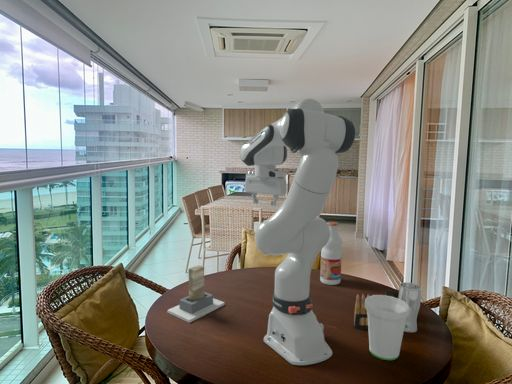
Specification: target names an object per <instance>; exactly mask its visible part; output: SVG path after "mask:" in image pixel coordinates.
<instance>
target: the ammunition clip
mask: <svg viewBox="0 0 512 384" xmlns="http://www.w3.org/2000/svg"><path fill="white" fill-rule="evenodd" d="M373 295H375V294H373ZM373 295H372V296H373ZM369 296H370V294H369V293H367V296H366V297H365V294H364V293H362V296H361V298H360V295H359V293H357V295H356V299H355V303H354V304H355V305H354V314H353V321H352V322H353V324H352V326H353V328H354V329H360V330H368V316H367V310H366V308H365V299H366V298H367V297H369Z"/></svg>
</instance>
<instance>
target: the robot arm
mask: <svg viewBox="0 0 512 384" xmlns="http://www.w3.org/2000/svg"><path fill="white" fill-rule="evenodd" d="M355 139H356V128H355V125H354V123H353V122H352V120H350V119H348V118H347V117H343V116H342V115H341V116H340V115H334V114H330V113H326V112H325V111H324V107H323V106H322V105H321V103H320V102H319V101H317V100H315V99H313V98H304V99H302V100H300V101H298V102H297V103H295V104H294V105H293V106H292V107H291V108H289V109H287V110H286V111H285V112H284V113H283V115H282V117H280V118H279V119H278V120H276V121H274V122H272V123H271V124H268V125H266V126H265V127H263V128H261V130H260V131H258V132H257V133H256V134H255V135H254V136H253V137H252V138H250V139H247V140H245V141H244V142H243V143H242V145H241V147H240V152H239V154H240V155H239V157H240V160H241V161H242V162H243V163H244V164H245V166H248V167H250V166H251V167H253V166H254V171H248V172H247V173H246V174H245V181H244V192H245V193H251V194H250V196H251V198H252V200H253V201H252V202H253V204H259V199H258V197H257V194H260V195H269V196H272V197H273V199H272V201H270V206H273V207H275V206H277V201H278V199H279V198H280V197H281V196H285V195H286V194H287V196H286V197H285V199H284V201H283V202H282V204H281V205H280V206H279V208H278V209H277V210H276V211H275V212H274V213H272V215H270V217H268V218H267V219H266V220H264V221H262V222H260V223H259V224H258V225H257V227H256V228H255V232H254V243H255V246H256V247H257V249H258V250H259V252H260V253H261V254H263V255H267V256H268V255H270V256H282V255H287V256H286V257H285V259H284V260H283V261H282V262H280V264H279V265H277V266H276V268H275V270H274V290H273V293H272V306H273V307H272V309H271V311H270V313H269V314H268V321H267V333H266V334H265V335H264V337H263V342H264V343H265V344H266V345H267V346H269V347H270V348H271V349H273V350H274V351H275V352H276V353H277V354H278V355H279V356H281V357H282V358H283V359H285V360H286V361H287V362H288V363H290V364H291V365H293V366H308V365H314V364H318V363H321V362H323V361H324V362H325V361H326V360H328V359H330V358H331V357H332V356H333V350H332V349H331V347H330V346H329V345H328V343H327V342H326V340H325V334H324V324H323V323H322V322H321V323H320V322H319V321H318V319H317V315H316V314H315V313H314V312H313V305H314V304H313V303H312V299H311V295H310V285H311V283H310V282H311V273H312V268H313V267H314V264H315V261H316V259H317V257H318V255H319V253H321V250H322V248H323V247H324V246H325V245H326V244H327V243H328V241H329V238H330V229H329V226H328V224H327V221H326V220H325V219H323V218H322V217H318V216H320V215H321V214H322V212H323V210H324V209H325V206H326V203H327V201H328V198H329V196H330V193H331V191H332V188H333V186H334V184H335V180H336V176H337V172H338V169H339V168H338V167H339V161H340V160H339V156H338V154H341V153H345V152H348V151H349V150H350V149H351V147H352V146H353V144H354V141H355ZM287 147H288V148H289V151H290V153H292V154H295V153H297V152H298V151H299V154H300V159H299V163H298V166H297V168H296V171H295V174H294V176H293V178H292V179H293V180H292V182H291V186H290V188H289V191H288V186H287V179H286V175H287V174H286V172H285V171H284V170H281V169H278V168H276V166H279V165H280V166H281V165H282V164H284V163H285V162H286V161H287V158H288V148H287Z"/></svg>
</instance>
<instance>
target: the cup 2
mask: <svg viewBox="0 0 512 384" xmlns="http://www.w3.org/2000/svg"><path fill="white" fill-rule="evenodd" d="M365 308H366V310H367V316H368V329H367V330H368V331H367V332H368V344H369V346H368V347H369V348H368V350H369V352H370V353H371V355H372V356H373V357H376V358H378V359H380V360H385V361H394V360H396V359H398V358H399V357H400V352H401V347H402V341H403V336H404V332H405V331H404V327H405V322H406V317H407V316H408V315H409V311H410V308H409V305H408V304H407V303H406V302H404V301H402V300H400V299H398V298H395V297H391V296H386V295H385V294H374V295H369V297H367V296H366V297H365Z"/></svg>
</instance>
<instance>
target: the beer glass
mask: <svg viewBox="0 0 512 384" xmlns="http://www.w3.org/2000/svg"><path fill="white" fill-rule="evenodd" d="M398 291H399V294H398V299H400V300H402V301H404V302H406V303H407V304H408V305H409V308H410V311H409V315H408V316H407V317H406V322H405V327H404V332H406V333H412V334H414V333H416V332H417V331H418V326H417V320H418V319H417V318H418V314H419V311H420V307H421V301H422V287H421V286H420V285H418V284H416V283H413V282H407V281H406V282H401V283H399V288H398Z"/></svg>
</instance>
